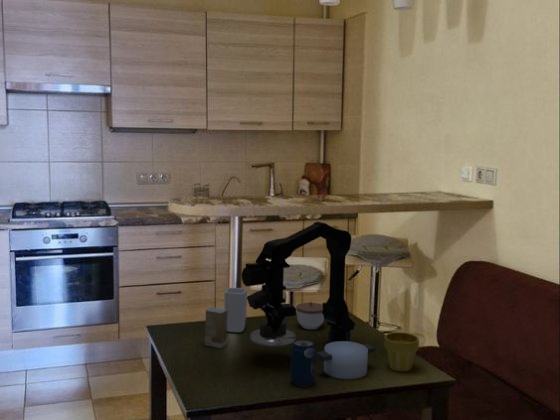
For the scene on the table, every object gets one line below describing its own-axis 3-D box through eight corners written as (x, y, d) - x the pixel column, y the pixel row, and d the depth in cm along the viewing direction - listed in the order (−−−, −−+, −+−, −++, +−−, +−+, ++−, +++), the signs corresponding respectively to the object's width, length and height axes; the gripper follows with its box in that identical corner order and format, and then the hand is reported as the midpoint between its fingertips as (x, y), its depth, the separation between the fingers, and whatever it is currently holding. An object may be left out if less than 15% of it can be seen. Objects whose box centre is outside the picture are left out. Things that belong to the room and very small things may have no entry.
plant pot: (397, 376, 194) (398, 344, 192) (376, 364, 203) (378, 334, 201) (424, 370, 198) (426, 340, 197) (403, 359, 207) (404, 330, 206)
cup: (227, 327, 236) (228, 287, 234) (247, 328, 235) (247, 288, 233) (223, 333, 229) (223, 292, 227) (243, 334, 228) (244, 293, 226)
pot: (358, 359, 207) (359, 337, 206) (383, 373, 196) (384, 350, 195) (307, 368, 198) (308, 346, 197) (330, 383, 187) (331, 360, 186)
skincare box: (204, 345, 216) (204, 310, 214) (210, 341, 220) (210, 306, 218) (221, 348, 213) (221, 312, 212) (227, 344, 217) (227, 309, 216)
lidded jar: (330, 327, 239) (331, 302, 238) (312, 333, 231) (313, 308, 230) (308, 320, 246) (308, 296, 245) (289, 327, 238) (290, 302, 237)
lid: (281, 329, 213) (282, 315, 212) (303, 342, 200) (303, 327, 200) (243, 334, 206) (243, 320, 205) (262, 348, 194) (263, 333, 193)
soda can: (317, 386, 184) (318, 346, 183) (293, 388, 183) (294, 347, 181) (311, 377, 191) (312, 338, 190) (288, 378, 190) (289, 339, 188)
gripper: (237, 278, 205) (237, 325, 207) (264, 292, 189) (263, 343, 191) (269, 274, 210) (268, 321, 213) (297, 288, 194) (296, 338, 196)
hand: (273, 331), depth 203 cm, fingers closed on lid, 2 cm apart
